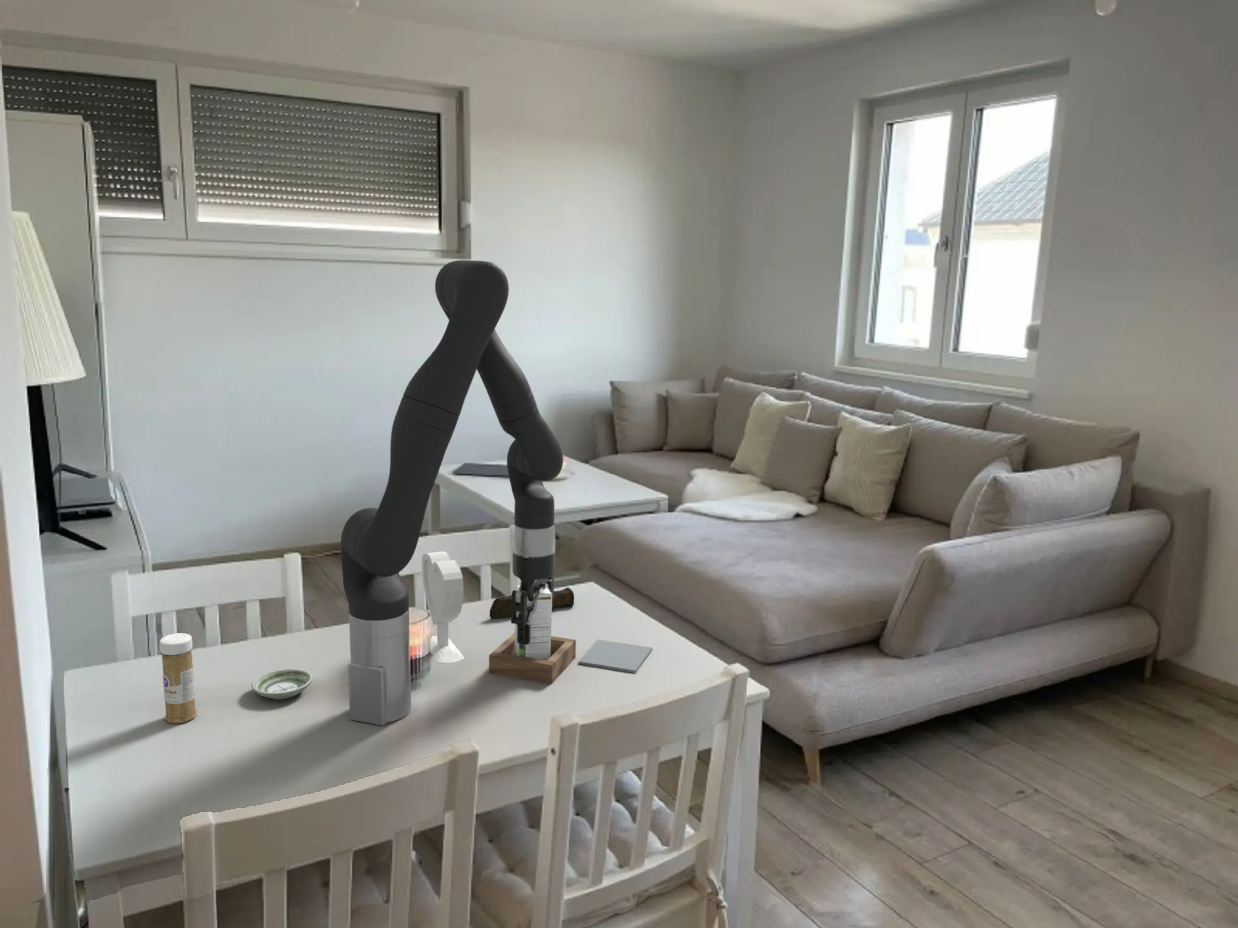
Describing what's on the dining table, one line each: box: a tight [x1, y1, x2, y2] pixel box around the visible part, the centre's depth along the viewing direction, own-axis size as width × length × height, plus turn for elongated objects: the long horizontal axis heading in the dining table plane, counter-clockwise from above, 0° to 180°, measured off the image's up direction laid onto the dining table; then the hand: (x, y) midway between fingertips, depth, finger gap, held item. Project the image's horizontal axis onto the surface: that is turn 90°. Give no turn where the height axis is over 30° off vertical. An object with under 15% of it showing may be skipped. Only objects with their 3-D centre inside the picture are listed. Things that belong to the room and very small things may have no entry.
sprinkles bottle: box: [159, 632, 198, 724], centre depth 144 cm, size 5×5×13 cm
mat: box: [578, 639, 653, 674], centre depth 173 cm, size 11×11×1 cm
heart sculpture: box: [421, 551, 465, 664], centre depth 172 cm, size 16×5×18 cm, turn 27°
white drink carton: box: [514, 584, 553, 660], centre depth 166 cm, size 6×6×14 cm
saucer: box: [251, 668, 314, 700], centre depth 155 cm, size 10×10×2 cm
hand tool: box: [489, 587, 575, 620], centre depth 194 cm, size 19×4×5 cm, turn 119°
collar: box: [488, 632, 577, 685], centre depth 168 cm, size 12×12×4 cm
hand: (532, 634), depth 167 cm, fingers closed on white drink carton, 8 cm apart
